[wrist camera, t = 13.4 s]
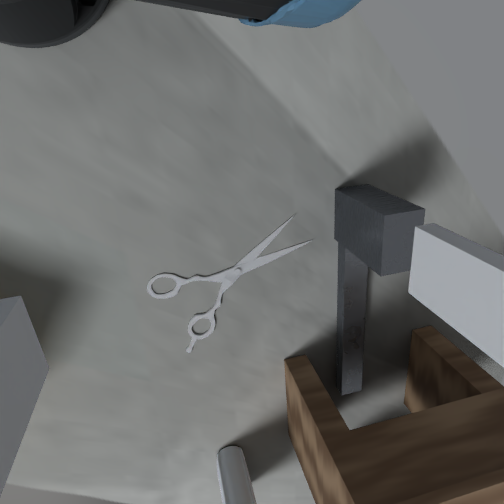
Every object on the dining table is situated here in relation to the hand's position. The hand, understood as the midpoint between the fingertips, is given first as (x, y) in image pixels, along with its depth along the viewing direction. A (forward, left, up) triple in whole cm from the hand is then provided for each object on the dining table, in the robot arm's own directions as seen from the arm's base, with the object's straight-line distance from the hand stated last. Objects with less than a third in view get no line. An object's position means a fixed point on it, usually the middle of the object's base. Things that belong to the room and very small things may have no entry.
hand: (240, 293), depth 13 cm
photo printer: (+45, 0, -27) cm, 52 cm away
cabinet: (+34, +20, -27) cm, 48 cm away
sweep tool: (+19, +18, -27) cm, 38 cm away
